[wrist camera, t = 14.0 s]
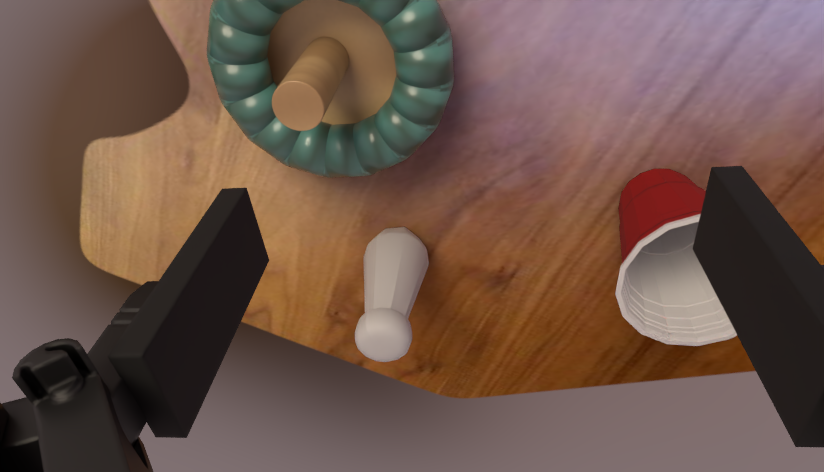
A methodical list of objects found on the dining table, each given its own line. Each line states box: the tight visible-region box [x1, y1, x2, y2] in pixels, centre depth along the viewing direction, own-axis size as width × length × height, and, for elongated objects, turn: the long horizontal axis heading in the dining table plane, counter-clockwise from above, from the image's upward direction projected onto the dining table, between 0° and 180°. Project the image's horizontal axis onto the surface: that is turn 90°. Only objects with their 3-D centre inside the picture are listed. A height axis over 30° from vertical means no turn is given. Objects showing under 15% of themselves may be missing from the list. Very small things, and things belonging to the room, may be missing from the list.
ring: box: [207, 0, 454, 178], centre depth 39 cm, size 17×17×4 cm
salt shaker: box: [355, 227, 429, 362], centre depth 47 cm, size 6×6×13 cm
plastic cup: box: [615, 169, 737, 346], centre depth 42 cm, size 11×11×12 cm
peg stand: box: [267, 0, 396, 131], centre depth 38 cm, size 11×11×10 cm
